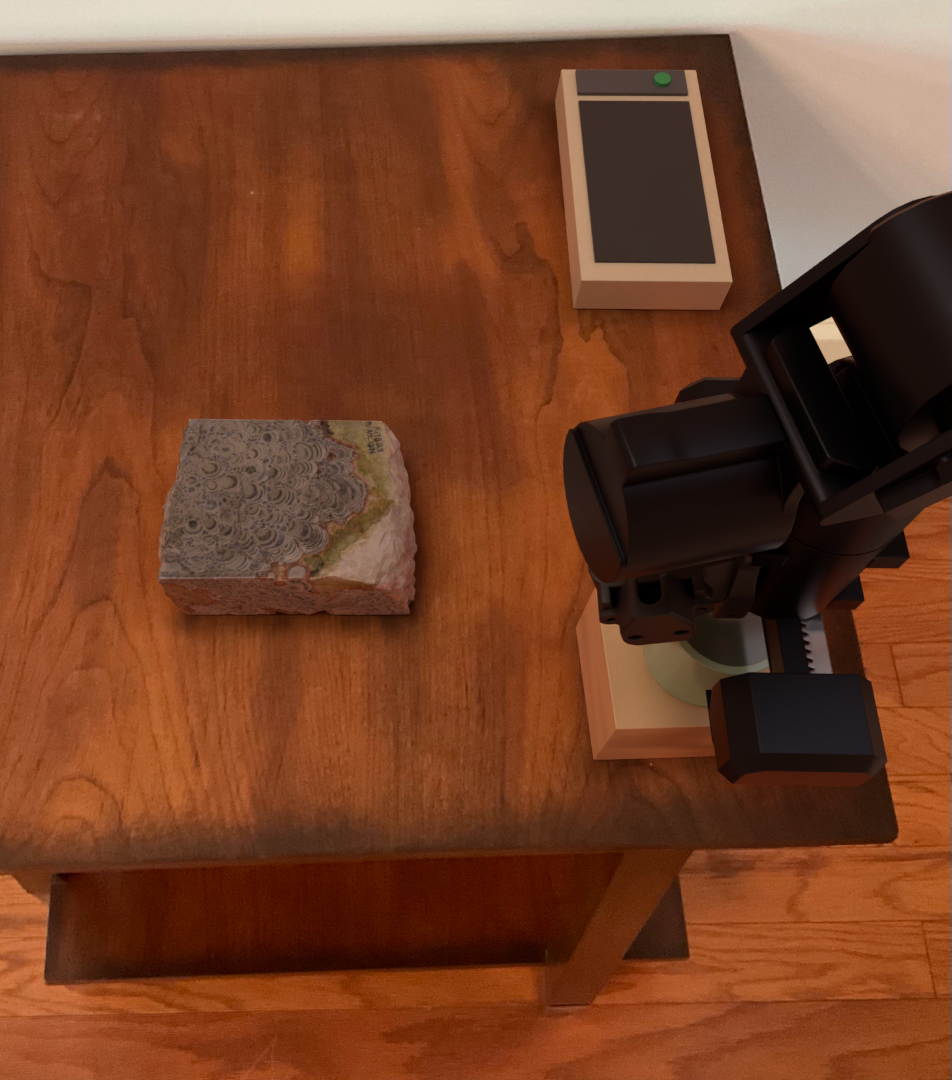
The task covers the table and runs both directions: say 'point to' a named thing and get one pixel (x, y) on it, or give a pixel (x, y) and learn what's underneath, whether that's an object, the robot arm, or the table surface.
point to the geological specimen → (288, 520)
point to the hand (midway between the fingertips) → (713, 637)
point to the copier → (639, 191)
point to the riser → (633, 700)
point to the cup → (708, 656)
